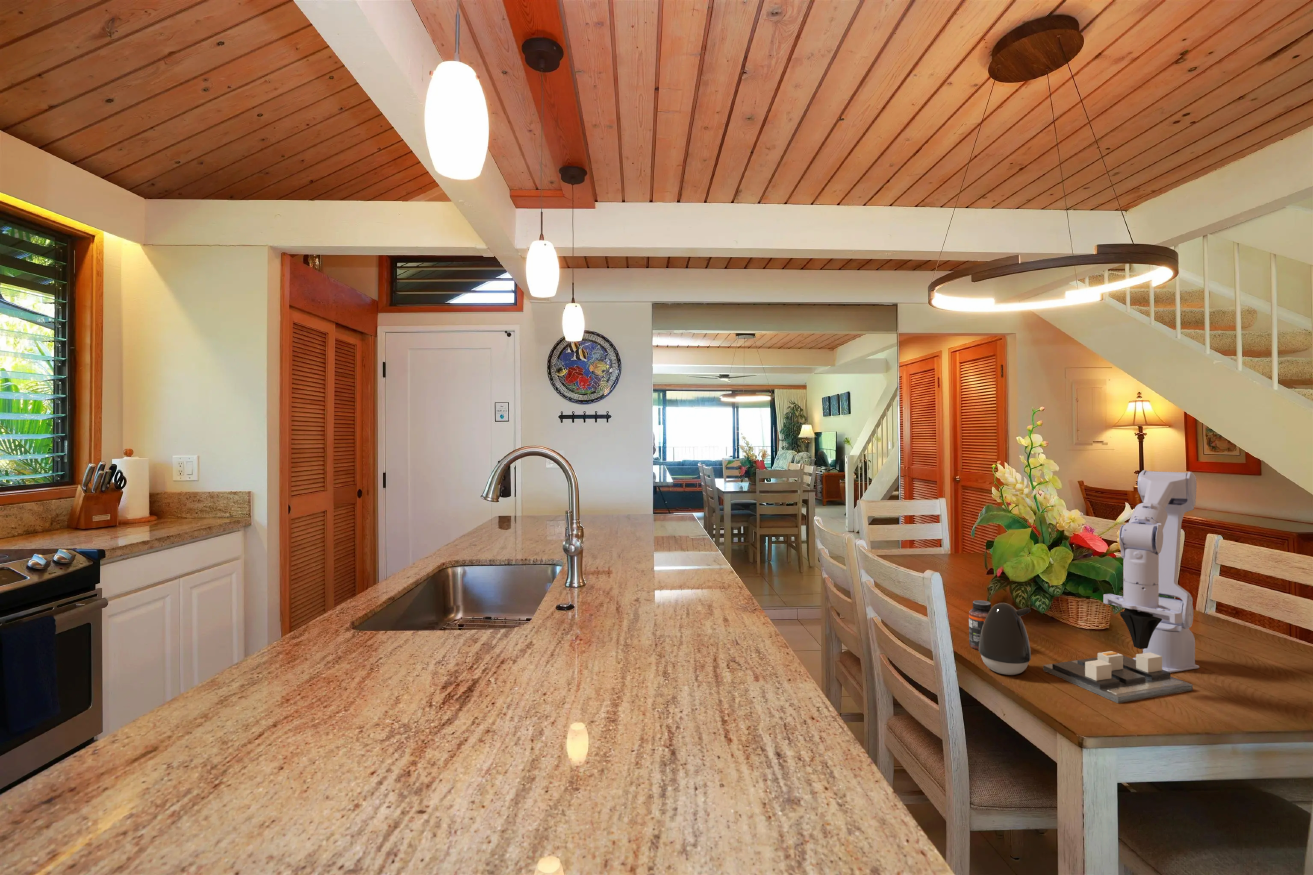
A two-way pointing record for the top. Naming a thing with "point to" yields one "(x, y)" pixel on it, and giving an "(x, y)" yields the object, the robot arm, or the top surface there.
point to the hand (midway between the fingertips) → (1140, 647)
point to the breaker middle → (1112, 659)
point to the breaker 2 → (1149, 662)
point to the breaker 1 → (1098, 670)
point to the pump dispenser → (1005, 640)
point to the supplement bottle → (977, 621)
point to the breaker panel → (1120, 681)
